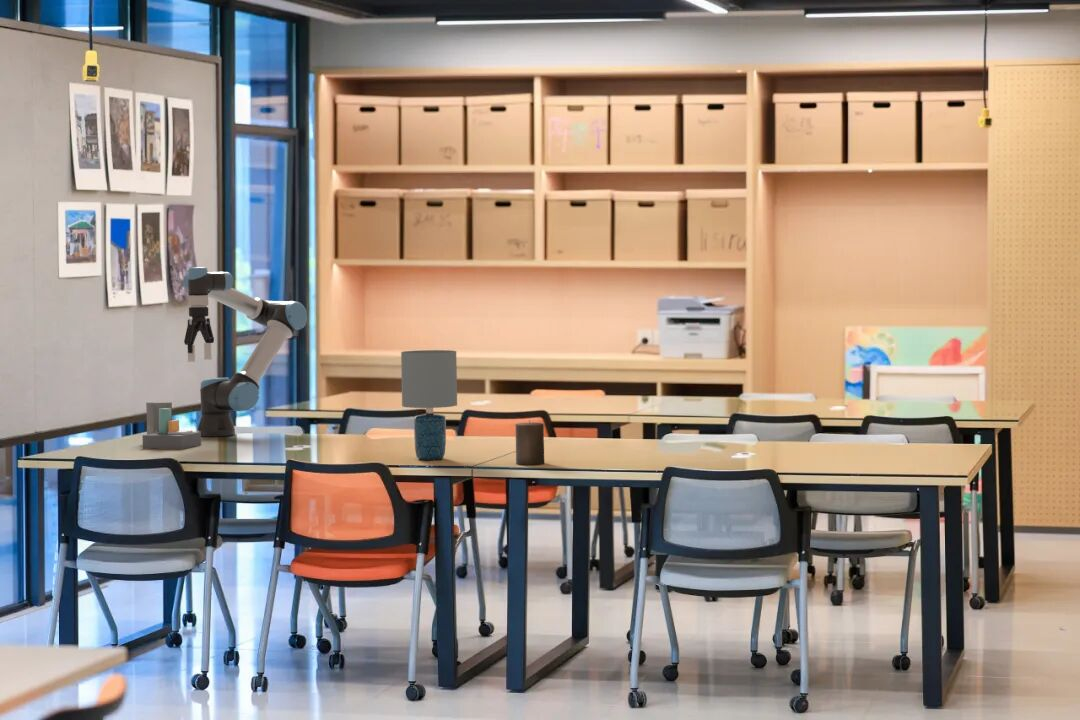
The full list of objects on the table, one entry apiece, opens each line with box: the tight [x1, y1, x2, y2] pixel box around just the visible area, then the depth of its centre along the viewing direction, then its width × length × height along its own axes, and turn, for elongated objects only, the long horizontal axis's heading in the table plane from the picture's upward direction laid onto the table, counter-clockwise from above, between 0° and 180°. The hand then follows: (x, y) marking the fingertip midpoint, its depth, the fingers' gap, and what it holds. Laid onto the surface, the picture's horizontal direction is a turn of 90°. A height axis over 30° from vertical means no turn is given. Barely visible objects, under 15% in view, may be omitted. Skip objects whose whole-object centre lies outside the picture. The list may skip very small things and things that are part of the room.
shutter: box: [168, 419, 193, 434], centre depth 605 cm, size 7×7×5 cm
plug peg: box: [159, 408, 171, 434], centre depth 606 cm, size 4×4×14 cm
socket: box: [141, 431, 202, 450], centre depth 606 cm, size 16×16×5 cm
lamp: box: [400, 349, 458, 461], centre depth 555 cm, size 19×19×38 cm
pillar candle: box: [514, 419, 545, 466], centre depth 539 cm, size 10×10×15 cm
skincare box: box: [145, 401, 173, 434], centre depth 623 cm, size 8×7×16 cm
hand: (199, 360), depth 623 cm, fingers open, 13 cm apart
